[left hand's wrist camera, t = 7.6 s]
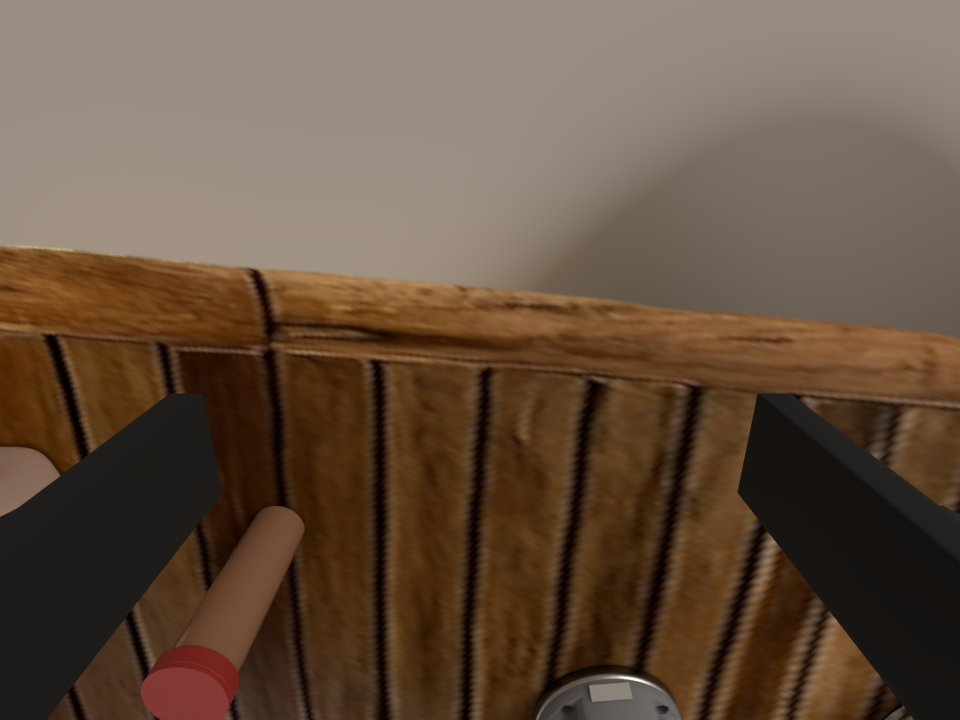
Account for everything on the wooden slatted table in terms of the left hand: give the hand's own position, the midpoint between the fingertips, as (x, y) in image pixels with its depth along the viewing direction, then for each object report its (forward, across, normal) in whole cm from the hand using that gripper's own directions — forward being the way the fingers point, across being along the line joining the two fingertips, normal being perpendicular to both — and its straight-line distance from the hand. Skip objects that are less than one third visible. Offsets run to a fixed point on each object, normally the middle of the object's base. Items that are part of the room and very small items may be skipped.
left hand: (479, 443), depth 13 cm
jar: (+28, +18, +25) cm, 41 cm away
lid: (+12, +18, +25) cm, 33 cm away
